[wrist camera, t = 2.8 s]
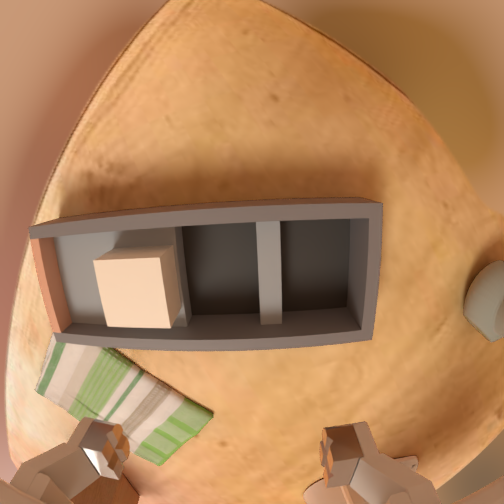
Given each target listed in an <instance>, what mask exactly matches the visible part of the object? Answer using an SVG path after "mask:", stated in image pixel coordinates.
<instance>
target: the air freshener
mask: <svg viewBox="0 0 504 504" xmlns="http://www.w3.org/2000/svg"><path fill="white" fill-rule="evenodd" d="M463 315H464V317H465V318H466V319H467V320H468V321H469V322H470V323H471V324H472V325H473V326H474V327H475V328H476V329H477V330H478V331H479V332H480V333H481V334H482V335H483V336H484V337H485V338H486V339H487V340H488V341H490V342H494V341H496V340H499V339H500V338H502V337H503V338H504V261H502V260H498V261H495V262H492V263H490V264H489V265H487V266H486V267H485V268H483V269H482V270H481V271H480V272H479V274H478V275H477V276H476V277H475V279H474V281H473V282H472V284H471V286H470V288H469V290H468V293H467V296H466V299H465V303H464V311H463Z"/></svg>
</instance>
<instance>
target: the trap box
mask: <svg viewBox="0 0 504 504" xmlns="http://www.w3.org/2000/svg"><path fill="white" fill-rule="evenodd" d="M382 217H383V203H380V202H376V201H372V200H368V199H364V198H360V197H349V198H296V199H269V200H247V201H229V202H213V203H199V204H185V205H173V206H161V207H150V208H140V209H130V210H121V211H112V212H103V213H94V214H86V215H78V216H71V217H63V218H57V219H54V220H51V221H47V222H44V223H41V224H37V225H34V226H31V227H29V233H30V240H31V246H32V251H33V257H34V262H35V266H36V271H37V276H38V280H39V284H40V288H41V292H42V296H43V300H44V303H45V307H46V311H47V314H48V317H49V321H50V324H51V327H52V330H53V333H54V336H55V339H56V342H62V343H70V344H78V345H88V346H98V347H110V348H124V349H140V350H164V351H245V350H269V349H286V348H300V347H312V346H323V345H333V344H342V343H351V342H359V341H367V340H372V336H373V329H374V322H375V314H376V305H377V296H378V286H379V275H380V261H381V244H382ZM166 245H173V249H174V258H175V266H176V274H177V281H178V289H179V296H180V303H181V309H180V311H179V313H178V315H177V317H176V319H175V321H174V323H173V325H172V327H171V328H133V327H109V326H107V322H106V318H105V314H104V310H103V306H102V302H101V297H100V293H99V288H98V283H97V279H96V273H95V268H94V263H93V260H95V259H96V258H98V257H100V256H101V255H103V254H105V253H107V252H108V251H110V250H112V249H114V248H131V247H148V246H166Z"/></svg>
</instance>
